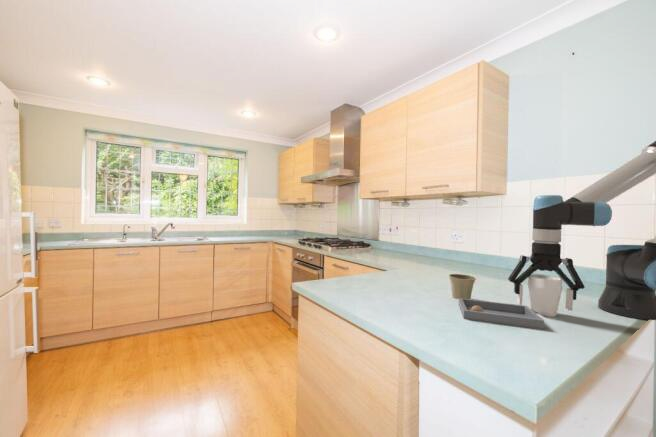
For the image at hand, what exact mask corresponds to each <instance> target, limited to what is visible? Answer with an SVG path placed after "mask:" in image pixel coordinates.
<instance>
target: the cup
mask: <svg viewBox="0 0 656 437" xmlns="http://www.w3.org/2000/svg"><path fill="white" fill-rule="evenodd" d="M527 289H528V298H529V304H530V309H531V310H532V311H533V312H535V313H536V314H539V315H541V316H543V317H550V318H552V317H556V316H557V313H558V309H559V305H560V301H561V297H562V296H561V295H562V291H563V280H562V279H561V278H560V277H559V276H558V277H557V276H552V275H547V274H535V273H534V274H533V273H532V274H531V275H530V276H529V277H528V278H527Z"/></svg>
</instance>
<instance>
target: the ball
mask: <svg viewBox="0 0 656 437" xmlns="http://www.w3.org/2000/svg"><path fill="white" fill-rule="evenodd" d="M471 311H479V312H484V311H483V309H482V308H481V307H480V306H477V305H475V306H473V307H472V308H471Z"/></svg>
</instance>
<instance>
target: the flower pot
mask: <svg viewBox="0 0 656 437" xmlns="http://www.w3.org/2000/svg"><path fill="white" fill-rule="evenodd" d="M448 277H449V280H450V285H451V286H450V288H451V297H452V299H457V300H459V298H463V299H472V292H473V289H474V284H475V281H476V280H477V278H476V276H473V275H468V274H464V273H463V274H461V273H459V274H458V273H451V274H448Z"/></svg>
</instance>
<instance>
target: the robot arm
mask: <svg viewBox="0 0 656 437" xmlns="http://www.w3.org/2000/svg"><path fill="white" fill-rule="evenodd" d="M654 175H656V140H655V141H653V142H652V143H650V144H648V145H647V146H645V147H644V148H642V149H641V153H640V154H639V155H637V156H636V157H633V158H632V159H631V160H629V161H627V162H626V163H624V164H623V165H621V166H619V167H618V168H616V169H615V170H613V171H611V172H610V173H608V174H606V175H605V176H603V177H602V178H600V179H598V180H597V181H595V182H594V183H592V184H590V185H588V186H587V187H586V188H584V189H582V190H581V191H579V192H577V193H576V194H574V195H572V196H571V197H570V198H568V199H566V200H565V201H564V197H563V196H562V195H559V194H558V195H557V194H545V195H544V194H542V195H537V196H535V198H534V200H533V206H532V207H533V208H532V238H531V239H532V241H533V242H532V243H531V254H530V256H527V255H524V254H521V255H520V256H519V261H518V263H517V265H516V266H515V268H514V269H513V270H512V272H511V273H510V275H509V277H508V278H507V280H508V281H509V282H511V283H513V284H514V285H513V286H514V287H513V290H514V291H513V292H514V293H515V295H516V303H517V305H523V295H524V294H523V292H524V290H523V289H524V285H522V284H523V282H524V281H526V279H528V277H529V276H530V275H531V274H533V273H534V272H536V271H543V272H544V271H548V272H553V271H554V273H556V275H557V276H558V277H559V278H561V279H562V282H564V283H565V284H566V285H567V286H568V287H566V288H565V309H567V310H568V311H570V312H571V311H572V312H573V303H574V301H576V300H577V294H578V293H577V291H579V290H583V289H585V288H586V287H585V284H584V283H583V281H582V279H581V278H580V275H579V274H578V272H577V271H576V268H575V266H574V262H573V259H572V258H569V257H565V258H561V250H562V248H561V247H562V245H561V244H560V243H561V242H562V229H563V228H562V226H567V225H568V226H583V227H584V226H590V227H603V226H604V227H605V226H607V225H608V224H609V223H610V222H611V220H612V217H613V210H612V207H611V206H610V204H608V203H609V202H610V201H612V200H614V199H615V198H617V197H619V196H620V195H622V194H623V193H626V192H627V191H628V190H631V189H632V188H634V187H636V186H637V185H639V184H640V183H643V182H644V181H646V180H647V179H649V178H651V177H652V176H654ZM606 251H607V252H606V254H605V257H606V268H605V271H606V272H605V286H604V289H603V291H602V293H601V295H600V297H599V298H598V303H597V307H598V309H600V310H602V311H606V312H608V313H612V314H615V315H618V316H623V317H626V318H628V317H629V318H631V319H632V318H634V319H639V320H647V321H648V320H649V321H656V235H655V237H654V238H651V239H648V240H645V242H644V244H612V245H609V246H608V247H607V250H606ZM529 262H531V263H532V264H530V265H529V267H528V268H527V269H526V270H525V271H523V272H522V270H523V269H524V267H525V266H526V263H529ZM561 264H563V265H564V266H565V268H566V269H567V270H566V271H567V272H568V273H569V276H570V277H571V279H572V280H573V281H572V280H571V279H570V278H569V277H568V276H567V274H565V273H564V272H563V269H562V268H561V267H560V265H561ZM521 272H522V273H521ZM518 275H519V276H518Z"/></svg>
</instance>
